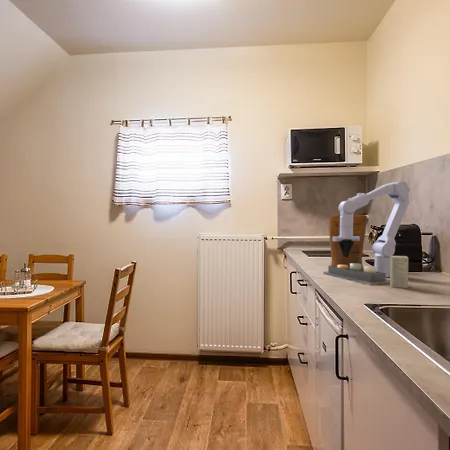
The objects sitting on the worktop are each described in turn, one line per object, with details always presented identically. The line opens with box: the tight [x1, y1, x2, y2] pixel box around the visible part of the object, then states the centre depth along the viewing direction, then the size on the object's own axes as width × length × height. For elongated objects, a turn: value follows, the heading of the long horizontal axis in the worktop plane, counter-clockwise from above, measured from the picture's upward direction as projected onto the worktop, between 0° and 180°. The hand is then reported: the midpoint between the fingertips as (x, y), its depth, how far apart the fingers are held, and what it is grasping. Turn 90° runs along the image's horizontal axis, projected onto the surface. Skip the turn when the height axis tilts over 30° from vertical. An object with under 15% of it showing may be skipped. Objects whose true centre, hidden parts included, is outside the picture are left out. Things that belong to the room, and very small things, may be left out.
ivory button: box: [363, 265, 376, 274], centre depth 156 cm, size 5×5×3 cm
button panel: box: [323, 265, 390, 286], centre depth 163 cm, size 12×28×4 cm, turn 26°
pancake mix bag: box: [328, 214, 368, 269], centre depth 196 cm, size 7×19×28 cm, turn 67°
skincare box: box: [389, 255, 409, 289], centre depth 146 cm, size 6×4×12 cm
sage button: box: [350, 263, 361, 271], centre depth 163 cm, size 5×5×3 cm
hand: (345, 256), depth 169 cm, fingers closed
